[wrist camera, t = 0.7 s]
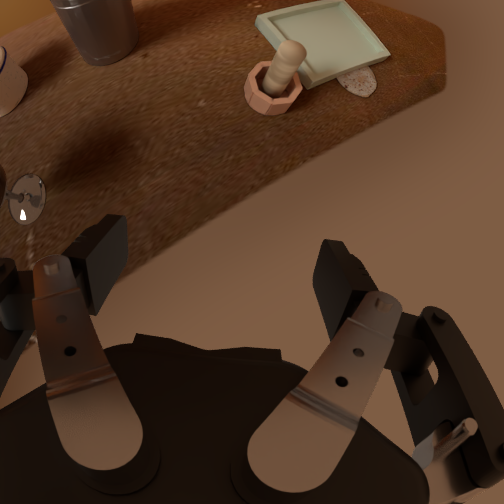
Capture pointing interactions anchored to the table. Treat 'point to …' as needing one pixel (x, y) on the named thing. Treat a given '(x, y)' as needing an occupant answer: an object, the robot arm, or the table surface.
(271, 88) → the beech pin
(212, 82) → the table surface
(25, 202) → the wine glass
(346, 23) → the sage tray
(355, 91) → the flatbread
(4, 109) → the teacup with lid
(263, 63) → the pin holder cup
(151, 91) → the table surface
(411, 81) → the table surface
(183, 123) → the table surface
